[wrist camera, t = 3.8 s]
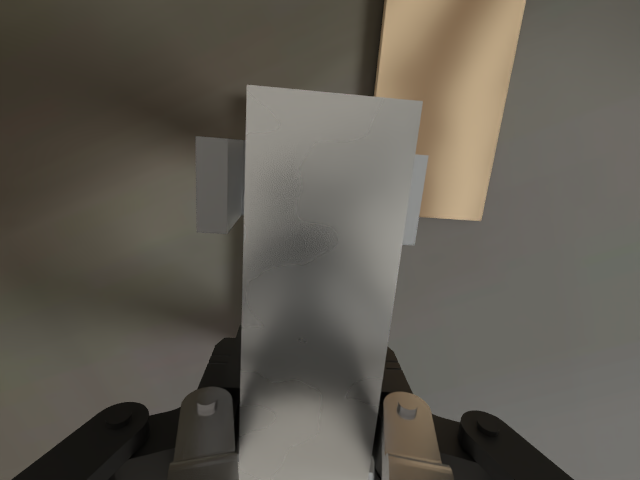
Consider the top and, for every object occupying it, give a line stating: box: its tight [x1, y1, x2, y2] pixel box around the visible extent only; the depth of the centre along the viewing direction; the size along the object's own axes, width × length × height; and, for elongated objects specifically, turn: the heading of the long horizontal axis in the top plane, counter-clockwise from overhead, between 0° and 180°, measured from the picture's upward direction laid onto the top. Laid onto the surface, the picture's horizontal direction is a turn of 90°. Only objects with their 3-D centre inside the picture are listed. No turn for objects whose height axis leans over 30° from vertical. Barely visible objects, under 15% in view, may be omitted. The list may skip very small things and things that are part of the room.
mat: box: [374, 0, 526, 221], centre depth 21 cm, size 8×19×1 cm, turn 175°
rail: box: [238, 85, 423, 480], centre depth 11 cm, size 4×17×4 cm, turn 176°
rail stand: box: [196, 136, 429, 480], centre depth 18 cm, size 7×19×12 cm, turn 175°
